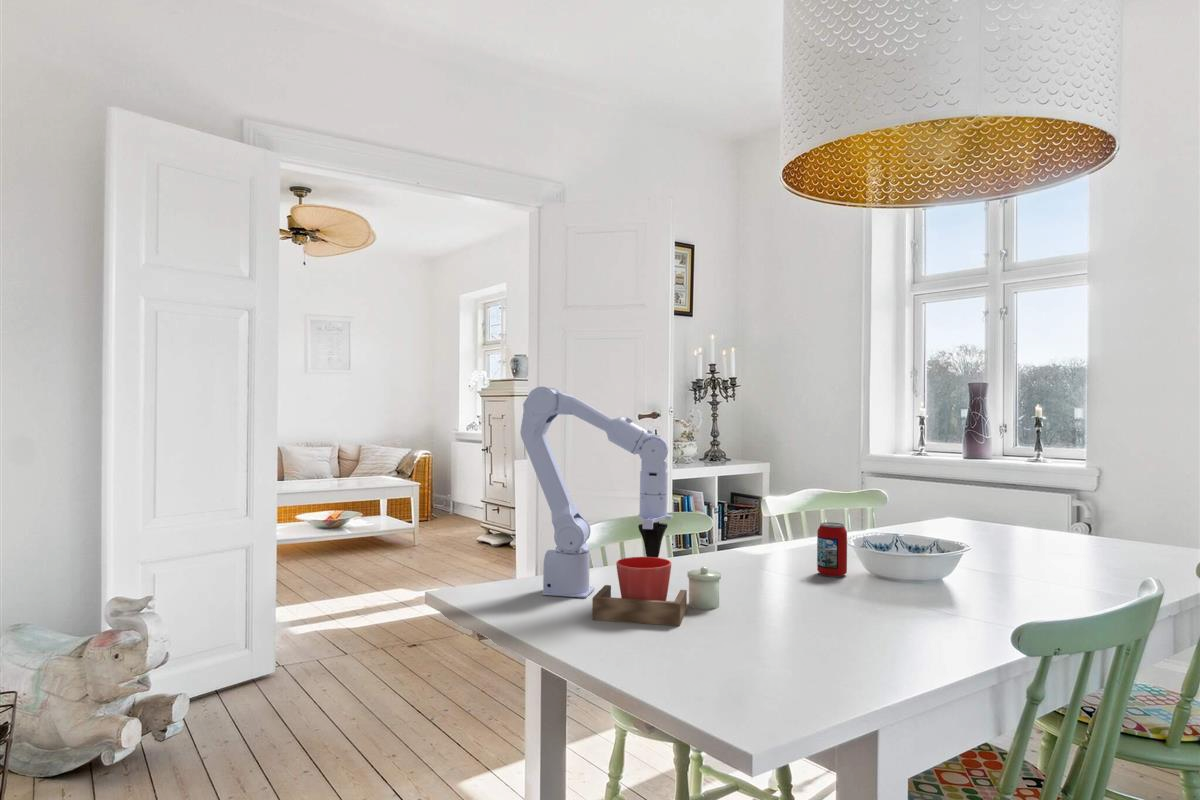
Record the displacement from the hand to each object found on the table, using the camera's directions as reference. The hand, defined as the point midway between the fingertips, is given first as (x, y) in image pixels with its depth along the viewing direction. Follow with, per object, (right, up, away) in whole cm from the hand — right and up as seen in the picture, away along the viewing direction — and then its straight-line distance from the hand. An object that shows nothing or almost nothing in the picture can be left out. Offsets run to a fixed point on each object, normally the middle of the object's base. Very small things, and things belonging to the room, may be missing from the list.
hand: (652, 558), depth 157 cm
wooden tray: (-3, -8, -14) cm, 16 cm away
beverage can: (+44, -9, +22) cm, 50 cm away
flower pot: (-3, -8, -12) cm, 15 cm away
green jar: (+10, -8, -7) cm, 14 cm away
